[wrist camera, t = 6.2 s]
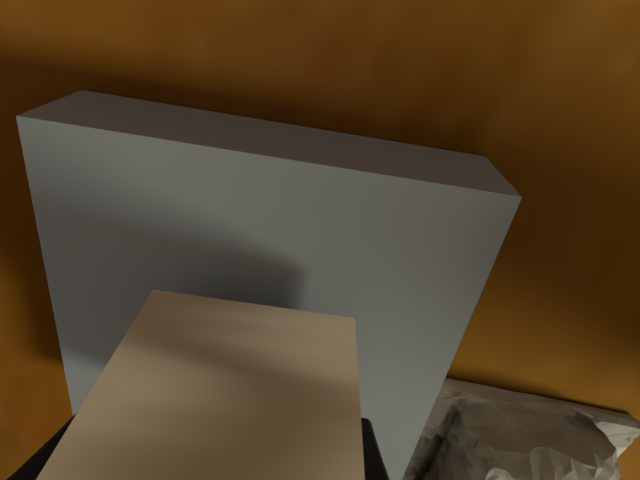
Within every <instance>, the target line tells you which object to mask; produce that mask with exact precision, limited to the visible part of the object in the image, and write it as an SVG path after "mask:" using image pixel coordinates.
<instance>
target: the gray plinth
mask: <svg viewBox="0 0 640 480" xmlns="http://www.w3.org/2000/svg"><path fill="white" fill-rule="evenodd" d="M16 120H17V125H18V130H19V136H20V141H21V146H22V151H23V157H24V162H25V167H26V172H27V177H28V183H29V188H30V193H31V198H32V203H33V209H34V214H35V219H36V224H37V229H38V235H39V240H40V245H41V250H42V255H43V261H44V266H45V271H46V276H47V282H48V287H49V292H50V297H51V302H52V308H53V313H54V318H55V323H56V328H57V334H58V339H59V344H60V349H61V354H62V360H63V365H64V370H65V375H66V380H67V386H68V391H69V396H70V401H71V407H72V412H73V416H74V415H75V414H76V413H77V412H78V411H79V409H80V407H81V406H82V404H83V403H84V401H85V399H86V398H87V396H88V395H89V393H90V391H91V390H92V388H93V386H94V385H95V383H96V382H97V380H98V378H99V377H100V375H101V373H102V372H103V370H104V369H105V367H106V365H107V364H108V362H109V360H110V359H111V357H112V356H113V354H114V352H115V351H116V349H117V347H118V346H119V344H120V343H121V341H122V339H123V338H124V336H125V334H126V333H127V331H128V330H129V328H130V326H131V325H132V323H133V322H134V320H135V318H136V317H137V315H138V313H139V312H140V310H141V309H142V307H143V305H144V304H145V302H146V300H147V299H148V297H149V296H150V294H151V292H152V291H153V290H160V291H167V292H174V293H181V294H188V295H195V296H202V297H209V298H216V299H223V300H230V301H238V302H245V303H252V304H259V305H266V306H273V307H280V308H287V309H294V310H301V311H308V312H316V313H323V314H330V315H337V316H344V317H351V318H355V328H356V344H357V361H358V377H359V393H360V409H361V418H368V419H369V420H370V421H371V423H372V427H373V431H374V434H375V438H376V441H377V444H378V447H379V451H380V454H381V457H382V460H383V463H384V465H385V468H386V471H387V474H388V477H389V479H390V480H402V478H403V476H404V473H405V471H406V469H407V466H408V464H409V462H410V459H411V457H412V455H413V452H414V450H415V447H416V445H417V443H418V440H419V438H420V436H421V433H422V431H423V429H424V426H425V424H426V422H427V419H428V417H429V415H430V412H431V410H432V408H433V405H434V403H435V401H436V398H437V396H438V394H439V391H440V389H441V386H442V384H443V382H444V379H445V377H446V375H447V372H448V370H449V368H450V365H451V363H452V361H453V358H454V356H455V354H456V351H457V349H458V347H459V344H460V342H461V340H462V337H463V335H464V333H465V330H466V328H467V325H468V323H469V321H470V318H471V316H472V314H473V311H474V309H475V307H476V304H477V302H478V300H479V297H480V295H481V293H482V290H483V288H484V286H485V283H486V281H487V279H488V276H489V274H490V272H491V269H492V267H493V264H494V262H495V260H496V257H497V255H498V253H499V250H500V248H501V246H502V243H503V241H504V239H505V236H506V234H507V232H508V229H509V227H510V225H511V222H512V220H513V218H514V215H515V213H516V211H517V208H518V206H519V203H520V201H521V199H522V196H521V195H520V194H519V193H518V192H517V191H516V190H515V188H514V187H513V186H512V185H511V184H510V183H509V182H508V181H507V180H506V179H505V177H504V176H503V175H502V174H501V173H500V172H499V171H498V170H497V169H496V168H495V166H494V165H493V164H492V163H491V162H490V161H489V160H488V159H487V158H486V157H485V156H481V155H475V154H469V153H462V152H456V151H450V150H444V149H438V148H432V147H426V146H420V145H414V144H408V143H402V142H396V141H390V140H384V139H378V138H371V137H365V136H359V135H353V134H347V133H341V132H335V131H329V130H323V129H317V128H311V127H305V126H299V125H293V124H287V123H280V122H274V121H268V120H262V119H256V118H250V117H244V116H238V115H232V114H226V113H220V112H214V111H208V110H202V109H196V108H190V107H183V106H177V105H171V104H165V103H159V102H153V101H147V100H141V99H135V98H129V97H123V96H117V95H111V94H105V93H99V92H92V91H86V90H80V91H78V92H75V93H73V94H70V95H67V96H65V97H62V98H60V99H57V100H55V101H52V102H49V103H47V104H44V105H42V106H39V107H37V108H34V109H31V110H29V111H26V112H24V113H21V114H19V115H16Z"/></svg>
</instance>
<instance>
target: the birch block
mask: <svg viewBox="0 0 640 480" xmlns="http://www.w3.org/2000/svg"><path fill="white" fill-rule="evenodd" d="M36 480H365V473H364V457H363V441H362V425H361V409H360V393H359V377H358V361H357V344H356V328H355V318H351V317H344V316H337V315H330V314H323V313H316V312H308V311H301V310H294V309H287V308H280V307H273V306H266V305H259V304H252V303H245V302H238V301H230V300H223V299H216V298H209V297H202V296H195V295H188V294H181V293H174V292H167V291H160V290H153V291H152V292H151V294H150V296H149V297H148V299H147V300H146V302H145V304H144V305H143V307H142V309H141V310H140V312H139V313H138V315H137V317H136V318H135V320H134V322H133V323H132V325H131V326H130V328H129V330H128V331H127V333H126V334H125V336H124V338H123V339H122V341H121V343H120V344H119V346H118V347H117V349H116V351H115V352H114V354H113V356H112V357H111V359H110V360H109V362H108V364H107V365H106V367H105V369H104V370H103V372H102V373H101V375H100V377H99V378H98V380H97V382H96V383H95V385H94V386H93V388H92V390H91V391H90V393H89V395H88V396H87V398H86V399H85V401H84V403H83V404H82V406H81V407H80V409H79V411H78V412H77V414H76V416H75V417H74V419H73V420H72V422H71V424H70V425H69V427H68V429H67V430H66V432H65V433H64V435H63V437H62V438H61V440H60V442H59V443H58V445H57V446H56V448H55V450H54V451H53V453H52V455H51V456H50V458H49V459H48V461H47V463H46V464H45V466H44V468H43V469H42V471H41V472H40V474H39V476H38V477H37V479H36Z"/></svg>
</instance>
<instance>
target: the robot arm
mask: <svg viewBox="0 0 640 480" xmlns="http://www.w3.org/2000/svg"><path fill="white" fill-rule="evenodd" d="M76 414H77V413H76ZM76 414H75V415H74V416H73V417H72V418H71V419H70V420H69V421H68V422H67V423H66V424H65V425H64V426H63V427H62V428H61V429H60V430H59V431H58V432H57V433H56V434H55V435H54V436H53V437H52V438H51V439H50V440H49V441H48V442H46V443H45V444H44V445H43V446H42V447H41V448H40V449H39V450H38V451H37V452H36V453H35V454H34V455H33V456H32V457H31V458H30V459H29V460H27V461H26V462H25V463H24V464H23V465H22V466H21V467H20V468H19V469H18V470H17V471H16V472H15V473H13V474H12V475H11V476H10V477H9V478H8V479H7V480H36V479H37V477H38V476H39V474H40V472H41V471H42V469H43V468H44V466H45V464H46V463H47V461H48V459H49V458H50V456H51V455H52V453H53V451H54V450H55V448H56V446H57V445H58V443H59V442H60V440H61V438H62V437H63V435H64V433H65V432H66V430H67V429H68V427H69V425H70V424H71V422H72V420H73V419H74V417H75V416H76ZM361 425H362V441H363V457H364V473H365V480H390V479H389V477H388V474H387V471H386V468H385V465H384V463H383V460H382V457H381V454H380V451H379V447H378V444H377V441H376V438H375V434H374V431H373V427H372V423H371V421H370V420H369V419H368V418H361Z"/></svg>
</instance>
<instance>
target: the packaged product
mask: <svg viewBox="0 0 640 480" xmlns="http://www.w3.org/2000/svg"><path fill="white" fill-rule="evenodd" d="M639 435H640V421H638V420H637V419H635V418H634V417H632V416H631V415H627V414H623V413H618V412H614V411H609V410H605V409H600V408H595V407H590V406H585V405H581V404H576V403H571V402H566V401H561V400H557V399H552V398H547V397H542V396H537V395H532V394H526V393H519V392H513V391H508V390H504V389H500V388H495V387H491V386H486V385H481V384H476V383H470V382H465V381H460V380H455V379H450V378H445V379H444V382H443V384H442V386H441V389H440V391H439V394H438V396H437V398H436V401H435V403H434V405H433V408H432V410H431V412H430V415H429V417H428V419H427V422H426V424H425V426H424V429H423V431H422V433H421V436H420V438H419V440H418V443H417V445H416V447H415V450H414V452H413V455H412V457H411V459H410V462H409V464H408V466H407V469H406V471H405V473H404V476H403V478H402V480H622V479H621V478H620V473H619V467H618V462H617V457H618V456H619V455H620V454H621V453H622V452H623V451H624V450H625V449H626V448H627V447H628V446H629V445H630V444H631V443H632V442H633V441H634V440H635V439H636V438H637V437H638V436H639Z"/></svg>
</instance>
